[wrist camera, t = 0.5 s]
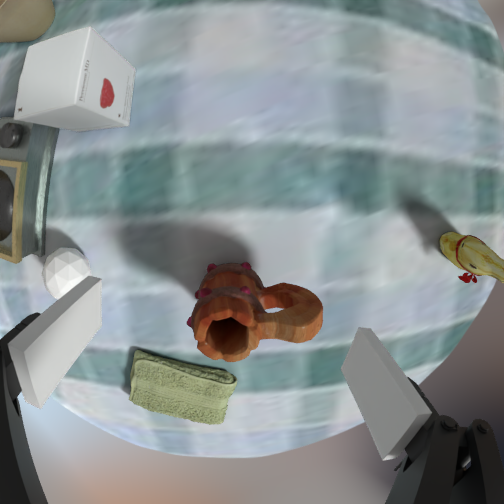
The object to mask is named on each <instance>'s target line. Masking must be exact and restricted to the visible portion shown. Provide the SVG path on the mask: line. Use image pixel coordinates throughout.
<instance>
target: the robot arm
mask: <svg viewBox="0 0 504 504" xmlns="http://www.w3.org/2000/svg"><path fill="white" fill-rule="evenodd" d="M101 287H102V279H100V278H97V277H93V276H87V277H86V278H85V279H83V280H82V281H81V282H80V283H78V284H77V285H76V286H75V287H73V288H72V289H71V290H70V291H68V292H67V293H66V294H65V295H63V296H62V297H61V298H60V299H59V300H57V301H56V302H55V303H54V304H53V305H51V306H50V307H49V308H48V309H47V310H45V311H44V312H43V313H42V314H40V313H38V312H37V313H34V314H32V315H29V316H27V317H26V318H25V319H23V320H22V321H21V323H19V324H18V325H16V326H15V328H13V329H12V330H11V331H9V332H8V333H7V334H6V335H5V336H4V337H3V338H1V339H0V504H48V502H47V500H46V497H45V494H44V492H43V489H42V486H41V484H40V481H39V478H38V475H37V472H36V469H35V466H34V463H33V460H32V457H31V453H30V449H29V445H28V442H27V438H26V434H25V429H24V425H23V420H22V415H21V410H20V405H19V401H18V398H17V396H18V395H19V394H20V392H21V391H22V393H23V396H24V399H25V401H26V402H28V403H29V404H31V405H33V406H35V407H37V408H39V409H41V408H42V407H43V405H44V404H45V402H46V401H47V399H48V398H49V396H50V395H51V394H52V392H53V391H54V389H55V388H56V386H57V385H58V384H59V382H60V381H61V379H62V378H63V377H64V375H65V374H66V373H67V371H68V370H69V368H70V367H71V366H72V364H73V363H74V362H75V360H76V359H77V358H78V356H79V355H80V354H81V352H82V351H83V350H84V348H85V347H86V346H87V345H88V343H89V342H90V341H91V339H92V338H93V337H94V335H95V334H96V333H97V332H98V330H99V329H100V328H101V327H102V317H101ZM341 371H342V373H343V375H344V377H345V379H346V381H347V383H348V386H349V388H350V390H351V392H352V394H353V396H354V398H355V401H356V403H357V405H358V407H359V409H360V411H361V414H362V416H363V418H364V420H365V422H366V424H367V427H368V429H369V431H370V433H371V436H372V438H373V440H374V442H375V445H376V447H377V449H378V451H379V454H380V456H381V458H382V460H388V459H394V458H397V457H398V456H399V455H400V454H401V453H402V451H403V450H404V449H405V451H406V452H407V456H406V457H405V458H404V459H403V460H402V461H401V462H400V463H399V465H398V466H397V467H396V468H395V469H394V471H397V469H398V468H400V470H399V472H398V475H397V477H396V480H395V482H394V485H393V487H392V490H391V492H390V494H389V496H388V499H387V500H386V503H385V504H504V469H503V465H502V461H501V457H500V453H499V449H498V446H497V442H496V439H495V436H494V433H493V430H492V428H491V426H490V425H489V424H488V422H486V421H485V420H481V419H475V420H473V422H472V423H471V424H470V426H469V427H459V425H458V423H457V422H456V421H455V420H454V419H452V418H451V417H449V416H445V415H441V416H439V414H438V413H437V411H436V410H435V409H434V407H433V406H432V404H431V403H430V402H429V400H428V399H427V398H426V397H425V395H424V393H423V392H421V389H420V388H419V386H418V385H417V384H416V383H415V382H414V381H413V380H411V379H410V378H409V377H406V375H405V374H404V372H403V371H402V370H401V368H400V367H399V366H398V364H397V363H396V361H395V360H394V359H393V357H392V356H391V355H390V353H389V352H388V351H387V349H386V348H385V347H384V345H383V344H382V343H381V341H380V340H379V339H378V337H377V336H376V335H375V333H374V332H373V331H372V330H371V329H370V328H361V327H359V328H358V330H357V333H356V335H355V338H354V340H353V342H352V345H351V347H350V349H349V352H348V354H347V356H346V358H345V361H344V363H343V365H342V367H341ZM470 460H471V466H470V467H469V468H468V469H466V465H467V464H468V462H469V461H470Z"/></svg>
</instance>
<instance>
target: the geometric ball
mask: <svg viewBox="0 0 504 504" xmlns="http://www.w3.org/2000/svg"><path fill="white" fill-rule="evenodd" d="M42 276H43V280H44V283H45V287H46V290H47V291H48V292H49V293H50V294H51V295H52V296H53V297H54V298H56V299H58V300H59V299H60V298H61V297H62V296H63V295H65V294H66V293H67V292H68V291H70V290H71V289H72V288H73V287H75V286H76V285H77V284H78V283H80V282H81V281H82V280H83V279H85V278H86V277H87V276H92V273H91V269H90V265H89V261H88V259H87V258H86V257H85V256H84V255H83V254H82V253H80V252H79V251H78V250H77V249H74V248H59V249H57V250H56V251H55V252H53V253H52V254H50V255H49V256H48V257H47V258H46V261H45V265H44V268H43V271H42Z"/></svg>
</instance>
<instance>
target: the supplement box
mask: <svg viewBox="0 0 504 504" xmlns="http://www.w3.org/2000/svg"><path fill="white" fill-rule="evenodd" d="M135 73H136V69H135V68H134V67H133V66H132V65H131V64H130V63H129V62H128V61H127V60H126V59H125V58H124V57H123V56H122V55H121V54H119V53H118V52H117V51H116V50H115V49H114V48H113V47H112V46H111V45H110V44H109V43H108V42H107V41H106V40H104V38H102V37H101V36H100V35H99V34H98V33H97V32H96V31H95V30H94V29H93V28H92V27H90V26H89V27H86V28H82V29H78V30H75V31H72V32H69V33H66V34H62V35H59V36H56V37H53V38H50V39H47V40H44V41H42V42H39V43H36V44H34V45H31V46H29V47H28V50H27V54H26V58H25V62H24V66H23V70H22V73H21V76H20V80H19V85H18V94H17V100H16V106H15V112H14V120H19V121H25V122H31V123H36V124H41V125H47V126H51V127H56V128H61V129H65V130H70V131H75V132H83V131H90V130H99V129H108V128H119V127H127V126H129V122H130V112H131V103H132V95H133V87H134V80H135Z"/></svg>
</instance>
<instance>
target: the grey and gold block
mask: <svg viewBox="0 0 504 504" xmlns="http://www.w3.org/2000/svg"><path fill="white" fill-rule="evenodd" d="M59 129H60V128H56V127H51V126H47V125H41V124H36V123H31V122H25V121H19V120H14V117H1V119H0V258H2V259H5V260H7V261H10V262H12V263H15V264H17V263H19V262H21V261H22V258H24V257H26V256H28V255H30V254H35V255H38V256H43V255H44V254H45V227H46V213H47V202H48V193H49V184H50V177H51V170H52V164H53V158H54V153H55V147H56V142H57V138H58V133H59Z"/></svg>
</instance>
